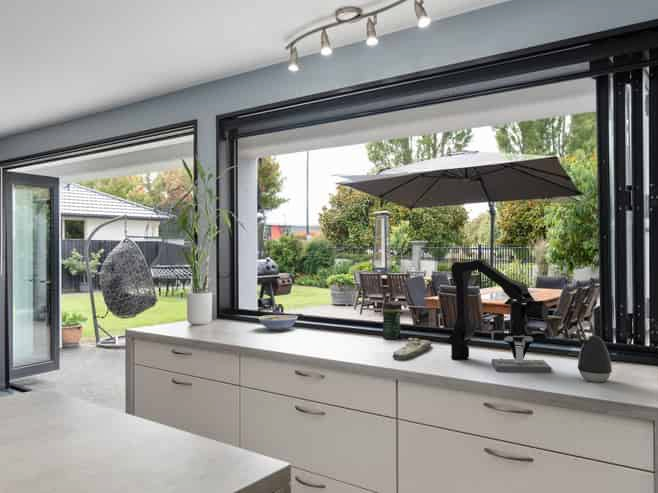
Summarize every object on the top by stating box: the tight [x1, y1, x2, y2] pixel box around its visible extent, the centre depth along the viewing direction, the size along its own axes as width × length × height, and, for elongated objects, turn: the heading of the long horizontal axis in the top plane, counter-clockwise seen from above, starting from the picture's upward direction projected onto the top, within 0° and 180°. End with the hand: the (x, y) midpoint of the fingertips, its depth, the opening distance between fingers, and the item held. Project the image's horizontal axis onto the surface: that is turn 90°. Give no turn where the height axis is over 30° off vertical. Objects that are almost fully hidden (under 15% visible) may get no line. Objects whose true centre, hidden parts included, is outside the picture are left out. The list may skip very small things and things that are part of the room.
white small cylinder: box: [513, 345, 524, 363], centre depth 188 cm, size 3×4×6 cm, turn 170°
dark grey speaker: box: [577, 335, 613, 383], centre depth 170 cm, size 10×10×15 cm
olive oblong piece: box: [392, 337, 432, 361], centre depth 220 cm, size 35×5×10 cm
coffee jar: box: [382, 301, 402, 340], centre depth 256 cm, size 10×8×19 cm
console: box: [491, 358, 552, 374], centre depth 188 cm, size 19×12×2 cm, turn 80°
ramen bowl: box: [258, 313, 303, 332], centre depth 289 cm, size 25×23×8 cm
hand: (518, 358), depth 188 cm, fingers closed on white small cylinder, 2 cm apart
